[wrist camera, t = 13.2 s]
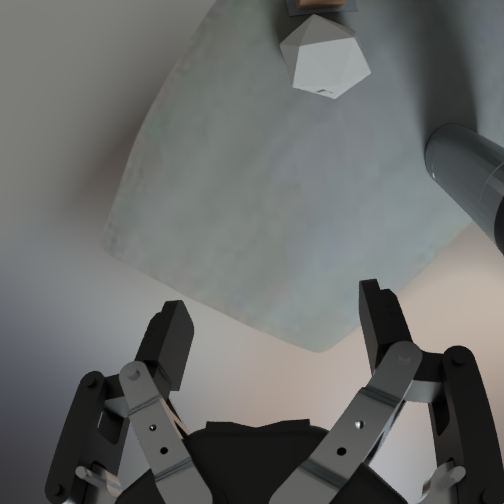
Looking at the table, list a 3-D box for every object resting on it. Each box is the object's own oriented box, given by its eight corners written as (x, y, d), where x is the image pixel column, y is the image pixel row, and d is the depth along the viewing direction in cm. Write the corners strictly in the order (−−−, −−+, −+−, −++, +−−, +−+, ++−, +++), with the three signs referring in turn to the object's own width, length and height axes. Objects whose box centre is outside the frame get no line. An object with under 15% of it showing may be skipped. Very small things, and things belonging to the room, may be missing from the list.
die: (264, 52, 31) (279, 106, 28) (296, -7, 24) (323, 36, 20) (326, 70, 34) (349, 125, 31) (362, 20, 27) (398, 69, 23)
